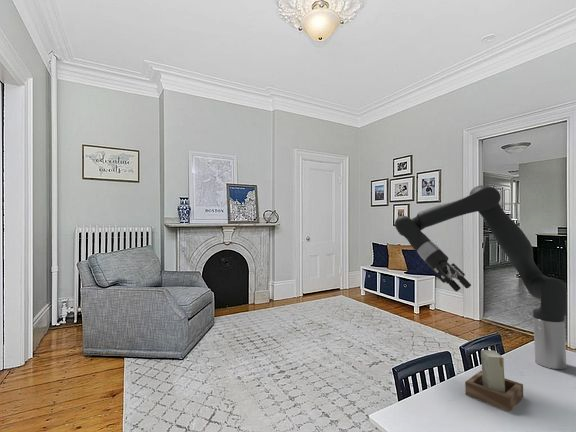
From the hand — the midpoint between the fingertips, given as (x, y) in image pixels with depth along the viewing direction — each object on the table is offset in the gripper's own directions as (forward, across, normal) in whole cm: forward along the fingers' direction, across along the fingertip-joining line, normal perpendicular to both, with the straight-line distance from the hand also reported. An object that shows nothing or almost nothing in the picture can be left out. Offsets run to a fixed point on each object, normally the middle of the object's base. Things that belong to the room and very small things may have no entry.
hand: (464, 288), depth 114 cm
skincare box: (+29, -9, +13) cm, 33 cm away
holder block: (+30, -9, +13) cm, 34 cm away
